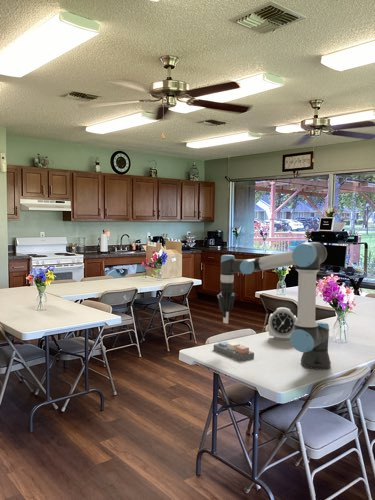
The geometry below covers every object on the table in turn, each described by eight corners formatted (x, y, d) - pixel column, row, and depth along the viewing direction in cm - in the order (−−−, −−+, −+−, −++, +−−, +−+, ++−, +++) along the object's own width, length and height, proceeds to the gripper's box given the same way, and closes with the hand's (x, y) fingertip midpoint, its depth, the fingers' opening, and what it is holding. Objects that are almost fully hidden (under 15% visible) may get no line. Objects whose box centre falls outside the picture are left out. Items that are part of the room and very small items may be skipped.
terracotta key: (248, 353, 235) (249, 347, 235) (242, 354, 232) (242, 348, 232) (242, 350, 239) (242, 345, 239) (235, 352, 236) (236, 346, 236)
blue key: (230, 348, 247) (231, 343, 247) (224, 350, 244) (224, 344, 244) (225, 346, 251) (225, 341, 251) (218, 347, 249) (218, 342, 248)
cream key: (239, 349, 241) (239, 344, 241) (232, 350, 238) (233, 345, 238) (233, 347, 245) (234, 342, 245) (227, 348, 242) (227, 343, 242)
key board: (253, 358, 235) (254, 352, 235) (240, 361, 230) (240, 355, 229) (226, 347, 254) (227, 342, 254) (213, 349, 248) (213, 344, 248)
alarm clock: (267, 339, 274) (268, 308, 272) (268, 336, 282) (269, 305, 281) (296, 342, 269) (298, 310, 268) (296, 338, 278) (297, 307, 276)
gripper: (231, 280, 252) (230, 320, 254) (213, 281, 245) (212, 322, 246) (239, 282, 246) (238, 322, 247) (222, 283, 239) (221, 325, 240)
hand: (225, 322), depth 247 cm, fingers closed
